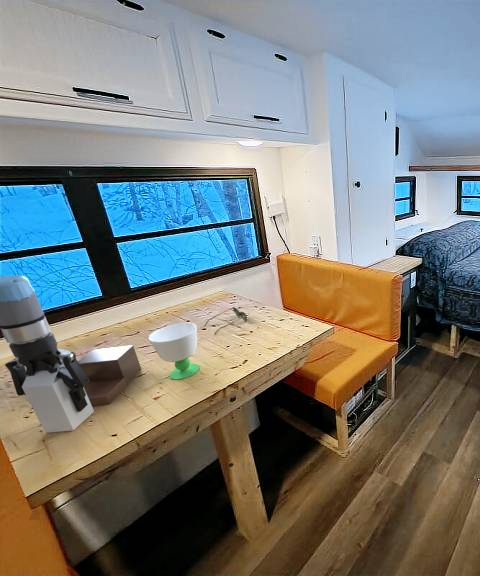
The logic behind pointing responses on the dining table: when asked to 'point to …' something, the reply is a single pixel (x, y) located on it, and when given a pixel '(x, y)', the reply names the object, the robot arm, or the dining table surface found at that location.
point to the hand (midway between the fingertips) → (65, 410)
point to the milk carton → (54, 402)
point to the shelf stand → (109, 372)
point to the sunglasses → (236, 314)
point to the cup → (177, 347)
